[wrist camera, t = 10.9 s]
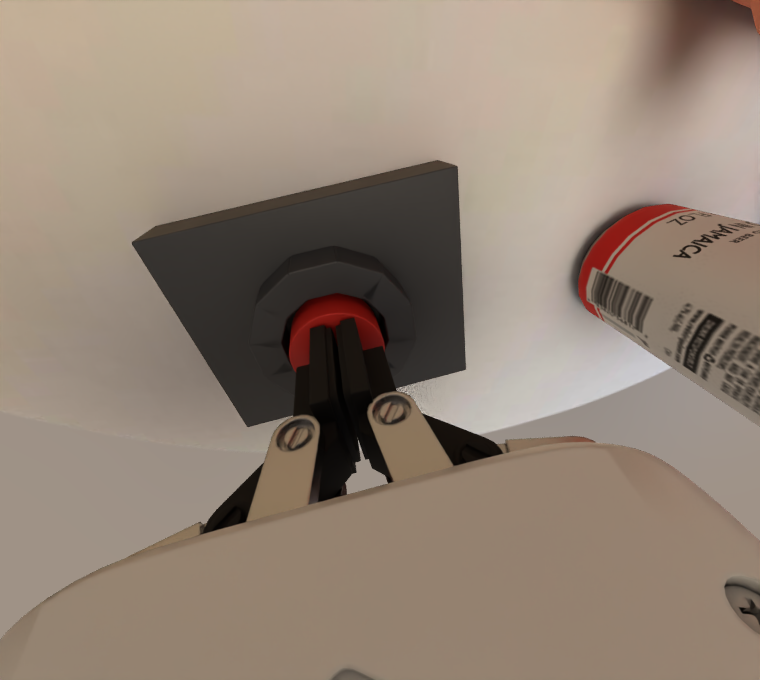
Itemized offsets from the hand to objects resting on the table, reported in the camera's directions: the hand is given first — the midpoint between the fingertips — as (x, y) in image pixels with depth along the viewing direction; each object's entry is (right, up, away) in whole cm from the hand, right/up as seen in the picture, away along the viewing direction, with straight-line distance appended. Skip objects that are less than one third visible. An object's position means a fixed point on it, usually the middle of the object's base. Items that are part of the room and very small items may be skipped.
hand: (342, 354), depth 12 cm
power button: (0, +1, +1) cm, 2 cm away
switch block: (-1, +3, +4) cm, 5 cm away
